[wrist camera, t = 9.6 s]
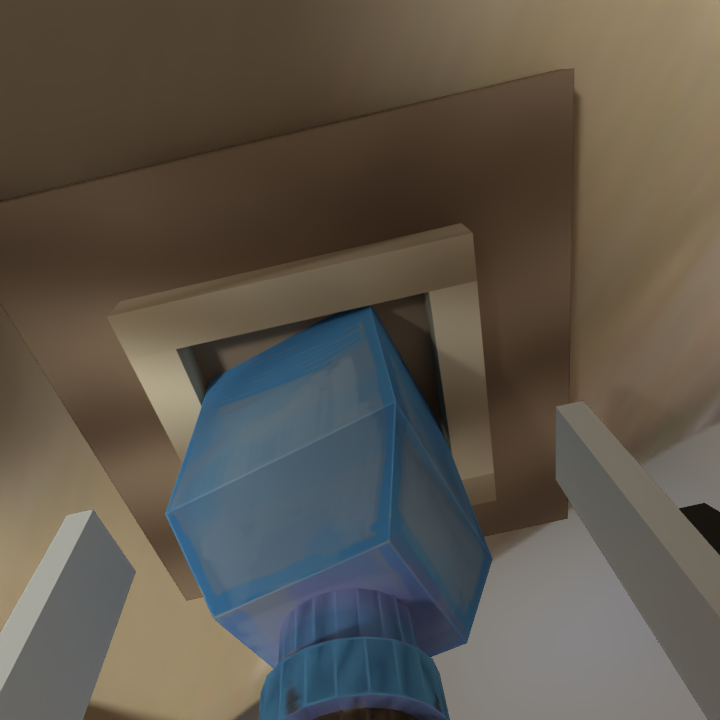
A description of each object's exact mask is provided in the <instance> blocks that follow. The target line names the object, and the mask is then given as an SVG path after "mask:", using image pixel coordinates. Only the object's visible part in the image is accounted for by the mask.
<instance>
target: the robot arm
mask: <svg viewBox="0 0 720 720" xmlns="http://www.w3.org/2000/svg"><path fill="white" fill-rule="evenodd" d="M556 481H557V482H558V484H559V485H560V487H561V488H562V490H563V492H564V493H565V495H566V496H567V498H568V500H569V501H570V503H571V504H572V506H573V507H574V509H575V511H576V512H577V513H578V515H579V517H580V518H581V520H582V522H583V523H584V525H585V526H586V528H587V529H588V531H589V533H590V534H591V536H592V537H593V539H594V541H595V542H596V544H597V545H598V547H599V548H600V550H601V552H602V553H603V555H604V556H605V558H606V560H607V561H608V563H609V564H610V566H611V567H612V569H613V571H614V572H615V574H616V575H617V577H618V579H619V580H620V582H621V583H622V585H623V586H624V588H625V590H626V591H627V592H628V594H629V596H630V597H631V599H632V601H633V602H634V604H635V605H636V607H637V609H638V610H639V612H640V613H641V615H642V616H643V618H644V620H645V621H646V622H647V624H648V626H649V627H650V629H651V630H652V632H653V634H654V635H655V637H656V638H657V640H658V642H659V643H660V645H661V646H662V648H663V650H664V651H665V653H666V654H667V656H668V657H669V659H670V661H671V662H672V664H673V665H674V667H675V669H676V670H677V672H678V673H679V675H680V676H681V678H682V680H683V681H684V683H685V684H686V686H687V687H688V689H689V691H690V692H691V694H692V695H693V697H694V698H695V700H696V702H697V703H698V705H699V706H700V708H701V709H702V711H703V713H704V714H705V716H706V717H707V719H708V720H720V512H719V511H717V510H715V509H714V508H712V507H710V506H709V505H707V504H705V503H703V504H698V505H693V506H688V507H684V508H679V509H678V508H677V506H676V505H675V504H674V503H673V502H672V501H671V500H670V499H669V497H668V496H667V495H666V494H665V493H664V492H663V491H662V489H661V488H660V487H659V486H658V485H657V484H656V483H655V481H654V480H653V479H652V478H651V477H650V476H649V475H648V473H647V472H646V471H645V470H644V469H643V468H642V467H641V466H640V464H639V463H638V462H637V461H636V460H635V459H634V458H633V456H632V455H631V454H630V453H629V452H628V451H627V450H626V448H625V447H624V446H623V445H622V444H621V443H620V442H619V441H618V439H617V438H616V437H615V436H614V435H613V434H612V433H611V431H610V430H609V429H608V428H607V427H606V426H605V425H604V424H603V422H602V421H601V420H600V419H599V418H598V417H597V416H596V414H595V413H594V412H593V411H592V410H591V409H590V408H589V406H588V405H587V404H586V403H585V402H584V401H579V402H575V403H570V404H566V405H561V406H557V407H556ZM135 572H136V571H135V570H134V568H133V567H132V565H131V564H130V562H129V561H128V559H127V558H126V557H125V555H124V554H123V552H122V551H121V549H120V548H119V546H118V545H117V543H116V542H115V540H114V539H113V538H112V536H111V535H110V533H109V532H108V530H107V529H106V527H105V526H104V524H103V523H102V521H101V520H100V519H99V517H98V516H97V514H96V513H95V511H94V510H89V511H84V512H80V513H75V514H71V515H67V516H66V518H65V520H64V521H63V523H62V525H61V527H60V528H59V530H58V532H57V534H56V535H55V537H54V539H53V541H52V543H51V544H50V546H49V548H48V550H47V551H46V553H45V555H44V557H43V558H42V560H41V562H40V564H39V566H38V567H37V569H36V571H35V573H34V574H33V576H32V578H31V580H30V582H29V583H28V585H27V587H26V589H25V590H24V592H23V594H22V596H21V597H20V599H19V601H18V603H17V605H16V606H15V608H14V610H13V612H12V613H11V615H10V617H9V619H8V620H7V622H6V624H5V626H4V628H3V629H2V631H1V633H0V720H83V718H84V716H85V713H86V710H87V707H88V704H89V702H90V699H91V696H92V693H93V690H94V687H95V685H96V682H97V679H98V676H99V673H100V671H101V668H102V665H103V662H104V659H105V657H106V654H107V651H108V648H109V645H110V643H111V640H112V637H113V634H114V631H115V629H116V626H117V623H118V620H119V617H120V615H121V612H122V609H123V606H124V603H125V600H126V598H127V595H128V592H129V589H130V586H131V584H132V581H133V578H134V575H135Z"/></svg>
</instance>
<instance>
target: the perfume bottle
mask: <svg viewBox="0 0 720 720" xmlns="http://www.w3.org/2000/svg"><path fill="white" fill-rule="evenodd" d="M165 515H166V517H167V519H168V521H169V523H170V526H171V528H172V530H173V532H174V534H175V536H176V539H177V541H178V543H179V545H180V547H181V549H182V552H183V554H184V556H185V558H186V560H187V562H188V565H189V567H190V569H191V571H192V573H193V575H194V578H195V580H196V582H197V584H198V586H199V588H200V590H201V593H202V595H203V597H204V599H205V601H206V603H207V606H208V608H209V610H210V612H211V614H212V616H213V619H214V620H216V621H217V622H218V623H219V624H220V625H222V626H223V627H224V628H225V629H227V630H228V631H229V632H230V633H231V634H233V635H234V636H235V637H236V638H237V639H239V640H240V641H241V642H242V643H244V644H245V645H246V646H247V647H248V648H250V649H251V650H252V651H253V652H254V653H256V654H257V655H258V656H259V657H260V658H262V659H263V660H264V661H265V662H267V663H268V664H269V665H270V666H271V667H273V668H274V669H273V670H272V671H271V672H270V673H269V674H268V675H267V677H266V680H265V683H264V685H263V688H262V691H261V698H260V710H259V720H450V719H449V714H448V709H447V705H446V700H445V696H444V692H443V687H442V682H441V678H440V673H439V671H438V669H437V667H436V665H435V663H434V661H433V659H432V658H431V657H432V656H435V655H437V654H440V653H442V652H445V651H448V650H450V649H453V648H455V647H458V646H460V645H463V644H466V643H467V640H468V637H469V634H470V630H471V627H472V624H473V621H474V617H475V614H476V611H477V608H478V604H479V601H480V598H481V595H482V591H483V588H484V585H485V582H486V578H487V575H488V572H489V569H490V565H491V562H492V557H491V555H490V552H489V549H488V547H487V544H486V542H485V539H484V537H483V534H482V531H481V529H480V526H479V524H478V521H477V519H476V516H475V513H474V511H473V508H472V506H471V503H470V501H469V498H468V495H467V493H466V490H465V488H464V485H463V483H462V480H461V477H460V475H459V472H458V470H457V467H456V465H455V462H454V459H453V457H452V454H451V452H450V449H449V447H448V444H447V441H446V439H445V436H444V434H443V431H442V429H441V426H440V424H439V422H438V421H437V419H436V417H435V415H434V413H433V412H432V410H431V408H430V406H429V405H428V403H427V401H426V399H425V398H424V396H423V394H422V392H421V391H420V389H419V387H418V385H417V384H416V382H415V380H414V378H413V376H412V375H411V373H410V371H409V369H408V368H407V366H406V364H405V362H404V361H403V359H402V357H401V355H400V354H399V352H398V350H397V348H396V347H395V345H394V343H393V341H392V340H391V338H390V336H389V334H388V332H387V331H386V329H385V327H384V325H383V324H382V322H381V320H380V318H379V317H378V315H377V313H376V311H375V310H374V308H373V306H372V305H369V306H364V307H360V308H355V309H351V310H347V311H342V312H338V313H335V314H333V315H331V316H329V317H327V318H325V319H323V320H321V321H320V322H318V323H316V324H314V325H312V326H310V327H308V328H306V329H305V330H303V331H301V332H299V333H297V334H295V335H293V336H291V337H290V338H288V339H286V340H284V341H282V342H280V343H278V344H276V345H275V346H273V347H271V348H269V349H267V350H265V351H263V352H261V353H260V354H258V355H256V356H254V357H252V358H250V359H248V360H246V361H245V362H243V363H241V364H239V365H237V366H235V367H233V368H231V369H230V370H228V371H226V372H224V373H222V374H220V375H218V376H216V377H215V378H213V379H211V381H210V384H209V387H208V390H207V393H206V396H205V398H204V401H203V404H202V407H201V410H200V413H199V416H198V419H197V422H196V425H195V428H194V431H193V434H192V437H191V439H190V442H189V445H188V448H187V451H186V454H185V457H184V460H183V463H182V466H181V469H180V472H179V475H178V478H177V480H176V483H175V486H174V489H173V492H172V495H171V498H170V501H169V504H168V507H167V510H166V513H165Z"/></svg>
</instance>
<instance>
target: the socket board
mask: <svg viewBox="0 0 720 720" xmlns="http://www.w3.org/2000/svg"><path fill="white" fill-rule="evenodd" d="M573 106H574V68H573V69H561V70H555V71H550V72H546V73H542V74H538V75H533V76H529V77H525V78H521V79H516V80H512V81H508V82H504V83H500V84H495V85H491V86H487V87H483V88H478V89H474V90H470V91H466V92H461V93H457V94H453V95H449V96H444V97H440V98H436V99H432V100H427V101H423V102H419V103H415V104H410V105H406V106H402V107H398V108H393V109H389V110H385V111H381V112H376V113H372V114H368V115H364V116H359V117H355V118H351V119H347V120H342V121H338V122H334V123H330V124H325V125H321V126H317V127H313V128H308V129H304V130H300V131H296V132H292V133H287V134H283V135H279V136H275V137H270V138H266V139H262V140H258V141H253V142H249V143H245V144H241V145H236V146H232V147H228V148H224V149H219V150H215V151H211V152H207V153H202V154H198V155H194V156H190V157H185V158H181V159H177V160H173V161H168V162H164V163H160V164H156V165H151V166H147V167H143V168H139V169H134V170H130V171H126V172H122V173H117V174H113V175H109V176H105V177H100V178H96V179H92V180H88V181H83V182H79V183H75V184H71V185H67V186H62V187H58V188H54V189H50V190H45V191H41V192H37V193H33V194H28V195H24V196H20V197H16V198H11V199H7V200H3V201H0V304H1V306H2V307H3V309H4V310H5V312H6V313H7V315H8V317H9V318H10V320H11V321H12V323H13V325H14V326H15V328H16V329H17V331H18V333H19V334H20V336H21V337H22V339H23V341H24V342H25V344H26V345H27V347H28V349H29V350H30V352H31V353H32V355H33V357H34V358H35V360H36V361H37V363H38V365H39V366H40V368H41V369H42V371H43V373H44V374H45V376H46V377H47V379H48V381H49V382H50V384H51V385H52V387H53V389H54V390H55V392H56V393H57V395H58V396H59V398H60V400H61V401H62V403H63V404H64V406H65V408H66V409H67V411H68V412H69V414H70V416H71V417H72V419H73V420H74V422H75V424H76V425H77V427H78V428H79V430H80V432H81V433H82V435H83V436H84V438H85V440H86V441H87V443H88V444H89V446H90V448H91V449H92V451H93V452H94V454H95V456H96V457H97V459H98V460H99V462H100V464H101V465H102V467H103V468H104V470H105V472H106V473H107V475H108V476H109V478H110V479H111V481H112V483H113V484H114V486H115V487H116V489H117V491H118V492H119V494H120V495H121V497H122V499H123V500H124V502H125V503H126V505H127V507H128V508H129V510H130V511H131V513H132V515H133V516H134V518H135V519H136V521H137V523H138V524H139V526H140V527H141V529H142V531H143V532H144V534H145V535H146V537H147V539H148V540H149V542H150V543H151V545H152V547H153V548H154V550H155V551H156V553H157V555H158V556H159V558H160V559H161V561H162V562H163V564H164V566H165V567H166V569H167V570H168V572H169V574H170V575H171V577H172V578H173V580H174V582H175V583H176V585H177V586H178V588H179V590H180V591H181V593H182V594H183V596H184V598H185V599H186V601H187V600H192V599H197V598H201V597H203V595H202V593H201V590H200V588H199V586H198V584H197V582H196V580H195V578H194V575H193V573H192V571H191V569H190V567H189V565H188V562H187V560H186V558H185V556H184V554H183V552H182V549H181V547H180V545H179V543H178V541H177V539H176V536H175V534H174V532H173V530H172V528H171V526H170V523H169V521H168V519H167V517H166V515H165V513H166V510H167V507H168V504H169V501H170V498H171V495H172V492H173V489H174V486H175V483H176V480H177V478H178V475H179V472H180V469H181V466H182V463H183V460H184V457H185V454H186V451H187V448H188V445H189V442H190V439H191V437H192V434H193V431H194V428H195V425H196V422H197V419H198V416H199V413H200V410H201V407H202V404H203V401H204V398H205V396H206V393H207V390H208V387H209V384H210V381H211V379H213V378H215V377H216V376H218V375H220V374H222V373H224V372H226V371H228V370H230V369H231V368H233V367H235V366H237V365H239V364H241V363H243V362H245V361H246V360H248V359H250V358H252V357H254V356H256V355H258V354H260V353H261V352H263V351H265V350H267V349H269V348H271V347H273V346H275V345H276V344H278V343H280V342H282V341H284V340H286V339H288V338H290V337H291V336H293V335H295V334H297V333H299V332H301V331H303V330H305V329H306V328H308V327H310V326H312V325H314V324H316V323H318V322H320V321H321V320H323V319H325V318H327V317H329V316H331V315H333V314H335V313H338V312H342V311H347V310H351V309H355V308H360V307H364V306H369V305H372V306H373V308H374V310H375V311H376V313H377V315H378V317H379V318H380V320H381V322H382V324H383V325H384V327H385V329H386V331H387V332H388V334H389V336H390V338H391V340H392V341H393V343H394V345H395V347H396V348H397V350H398V352H399V354H400V355H401V357H402V359H403V361H404V362H405V364H406V366H407V368H408V369H409V371H410V373H411V375H412V376H413V378H414V380H415V382H416V384H417V385H418V387H419V389H420V391H421V392H422V394H423V396H424V398H425V399H426V401H427V403H428V405H429V406H430V408H431V410H432V412H433V413H434V415H435V417H436V419H437V421H438V422H439V424H440V426H441V429H442V431H443V434H444V436H445V439H446V441H447V444H448V447H449V449H450V452H451V454H452V457H453V459H454V462H455V465H456V467H457V470H458V472H459V475H460V477H461V480H462V483H463V485H464V488H465V490H466V493H467V495H468V498H469V501H470V503H471V506H472V508H473V511H474V513H475V516H476V519H477V521H478V524H479V526H480V529H481V531H482V534H483V537H484V536H489V535H493V534H498V533H502V532H507V531H512V530H516V529H521V528H526V527H530V526H535V525H539V524H544V523H549V522H553V521H558V520H563V519H567V516H568V498H567V496H566V495H565V493H564V492H563V490H562V488H561V487H560V485H559V484H558V482H557V481H556V407H557V406H561V405H566V404H569V382H570V313H571V244H572V175H573Z"/></svg>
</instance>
